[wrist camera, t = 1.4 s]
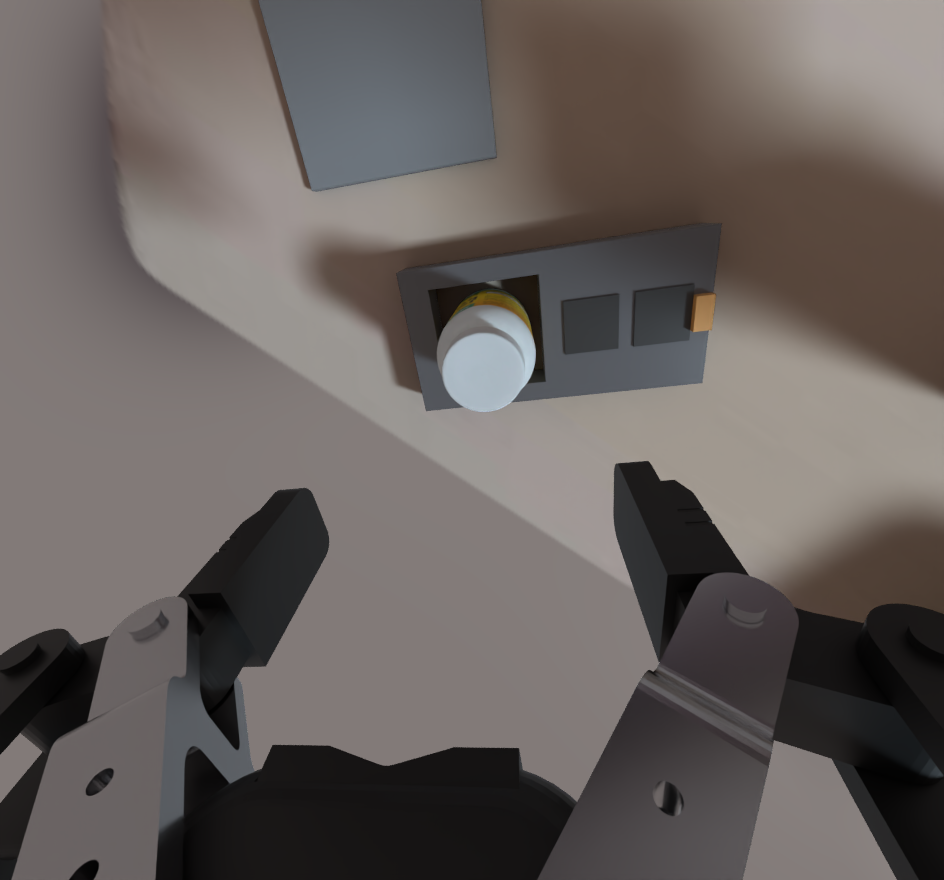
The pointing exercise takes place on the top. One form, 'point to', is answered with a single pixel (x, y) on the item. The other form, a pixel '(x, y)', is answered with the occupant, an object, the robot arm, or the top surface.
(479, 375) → the supplement bottle
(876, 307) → the top surface
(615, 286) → the gray slotted block
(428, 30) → the charging mat
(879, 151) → the top surface
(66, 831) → the robot arm
